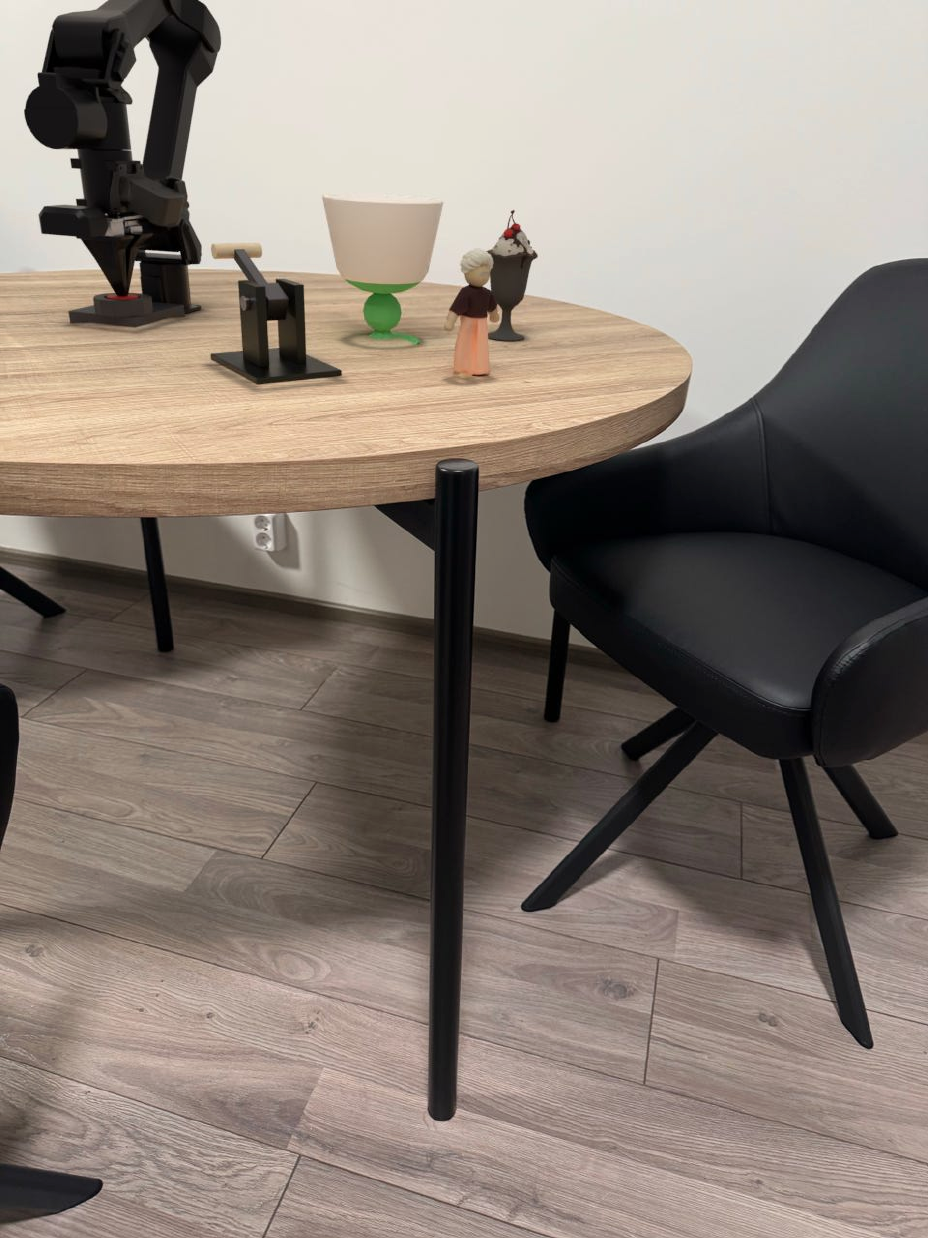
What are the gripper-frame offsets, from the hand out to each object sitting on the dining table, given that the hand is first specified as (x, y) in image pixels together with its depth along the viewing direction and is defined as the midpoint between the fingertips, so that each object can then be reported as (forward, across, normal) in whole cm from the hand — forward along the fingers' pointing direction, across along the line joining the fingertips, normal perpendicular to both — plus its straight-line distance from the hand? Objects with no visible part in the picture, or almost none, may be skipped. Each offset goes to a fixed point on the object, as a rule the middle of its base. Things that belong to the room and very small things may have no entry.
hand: (122, 295), depth 109 cm
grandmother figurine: (+4, -7, -46) cm, 46 cm away
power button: (+2, 0, 0) cm, 2 cm away
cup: (+4, +7, -30) cm, 32 cm away
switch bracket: (+4, -14, -26) cm, 30 cm away
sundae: (+4, +17, -44) cm, 47 cm away
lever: (-4, -11, -23) cm, 26 cm away
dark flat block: (+4, +3, +2) cm, 5 cm away
